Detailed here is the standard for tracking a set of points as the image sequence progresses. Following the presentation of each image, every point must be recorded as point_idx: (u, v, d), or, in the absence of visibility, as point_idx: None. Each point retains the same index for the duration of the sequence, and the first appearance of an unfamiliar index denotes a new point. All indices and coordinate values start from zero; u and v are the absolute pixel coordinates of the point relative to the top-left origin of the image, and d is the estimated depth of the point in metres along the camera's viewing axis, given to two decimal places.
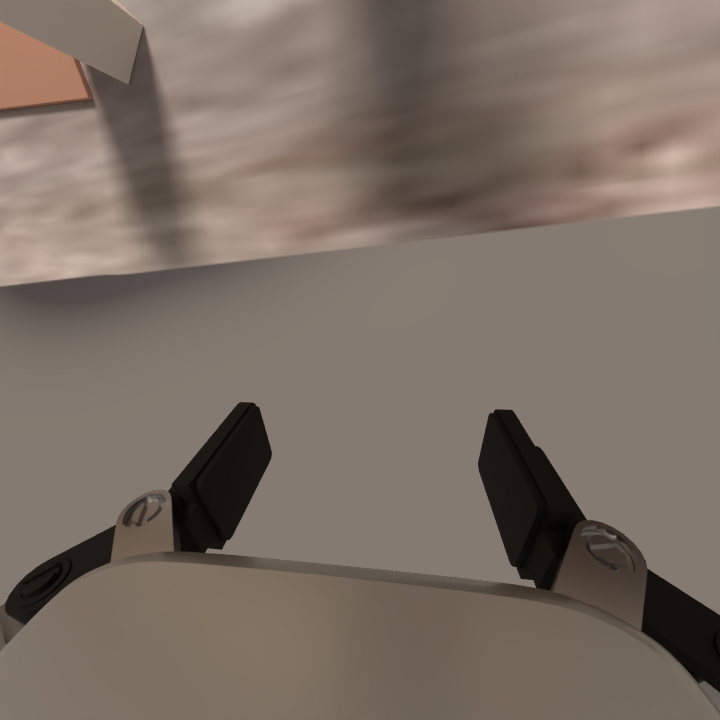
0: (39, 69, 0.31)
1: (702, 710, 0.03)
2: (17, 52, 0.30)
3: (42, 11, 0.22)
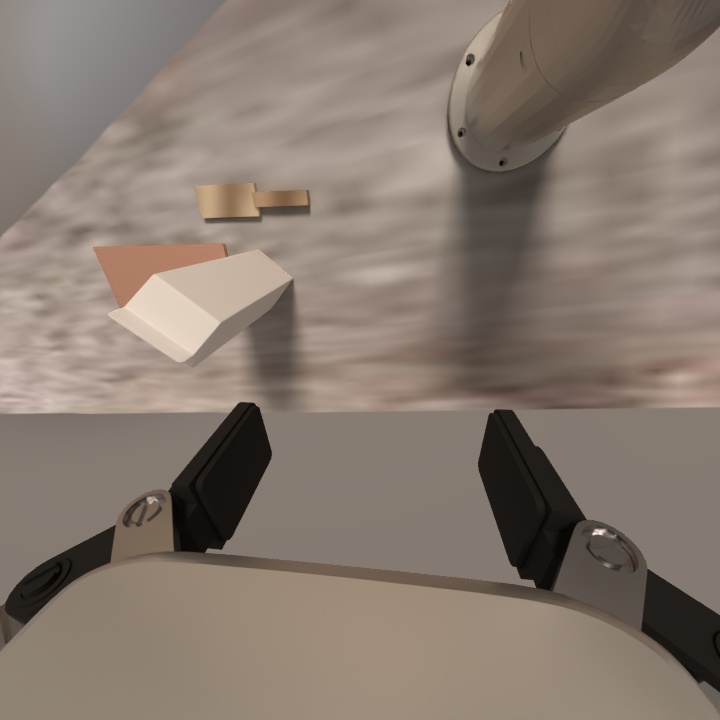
0: None
1: (702, 710, 0.03)
2: None
3: (252, 317, 0.32)
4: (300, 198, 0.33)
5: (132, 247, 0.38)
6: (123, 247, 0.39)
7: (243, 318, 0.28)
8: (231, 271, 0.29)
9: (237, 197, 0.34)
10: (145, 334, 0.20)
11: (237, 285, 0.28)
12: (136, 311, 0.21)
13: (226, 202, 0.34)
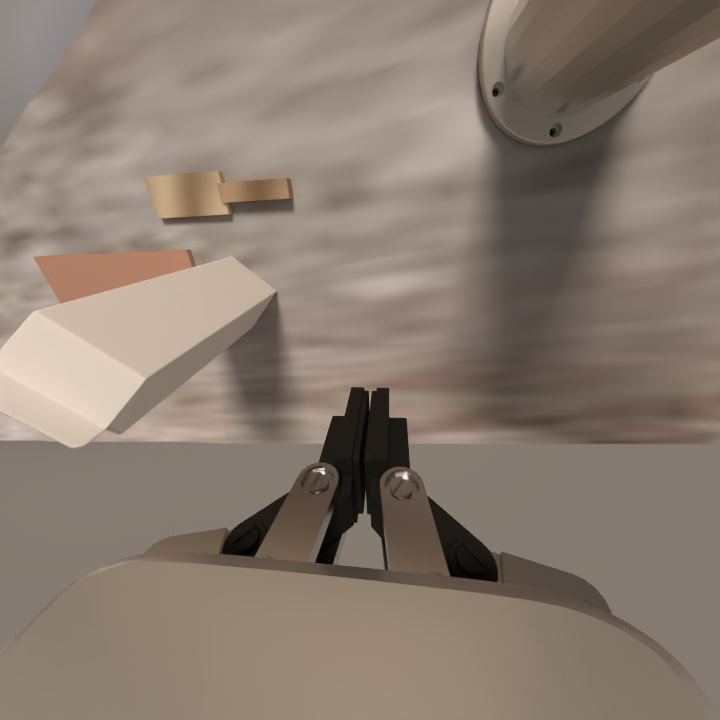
0: None
1: (702, 710, 0.03)
2: None
3: (219, 347, 0.25)
4: (279, 189, 0.25)
5: (79, 256, 0.31)
6: (69, 256, 0.31)
7: (200, 355, 0.21)
8: (183, 291, 0.21)
9: (199, 190, 0.26)
10: (19, 407, 0.13)
11: (188, 311, 0.20)
12: (8, 369, 0.13)
13: (186, 197, 0.27)
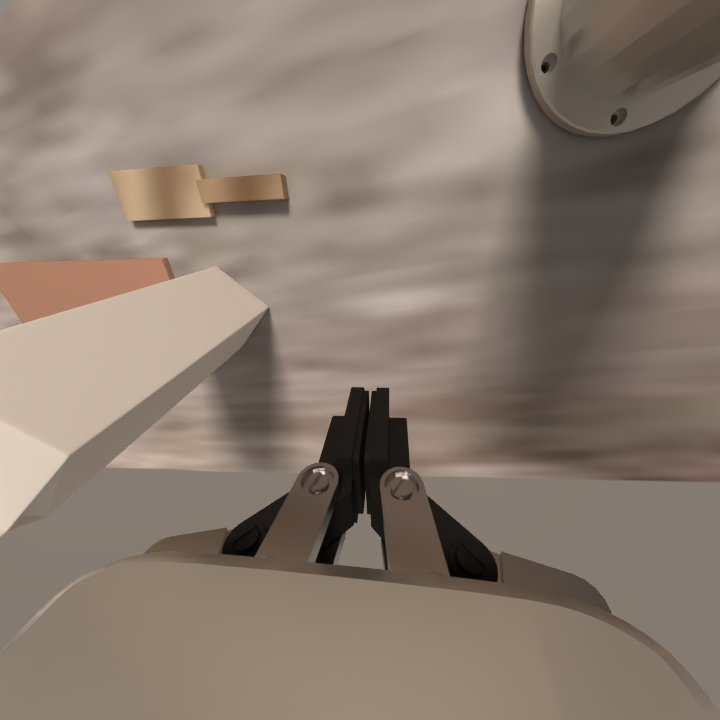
0: None
1: (702, 710, 0.03)
2: None
3: (196, 379, 0.20)
4: (271, 188, 0.21)
5: (36, 264, 0.26)
6: (24, 264, 0.27)
7: (167, 396, 0.16)
8: (146, 315, 0.17)
9: (175, 188, 0.22)
10: None
11: (150, 343, 0.15)
12: None
13: (160, 196, 0.22)
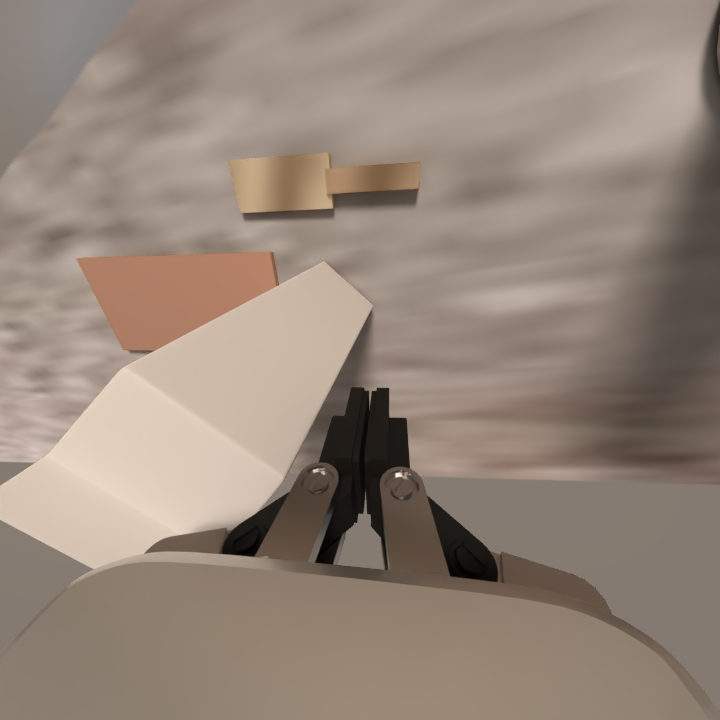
0: None
1: (702, 710, 0.03)
2: (219, 313, 0.27)
3: None
4: (407, 177, 0.20)
5: (134, 258, 0.26)
6: (120, 258, 0.26)
7: None
8: (293, 314, 0.15)
9: (299, 178, 0.21)
10: (94, 537, 0.07)
11: (305, 345, 0.14)
12: (79, 464, 0.08)
13: (280, 186, 0.21)
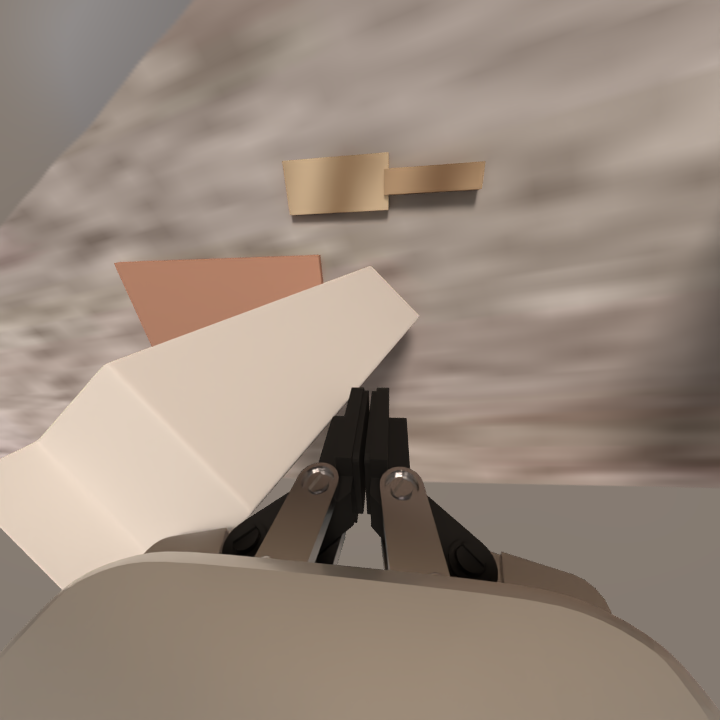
0: None
1: (702, 710, 0.03)
2: None
3: None
4: (470, 177, 0.19)
5: (175, 262, 0.25)
6: (160, 263, 0.25)
7: None
8: (318, 319, 0.14)
9: (355, 178, 0.20)
10: (55, 535, 0.07)
11: (322, 355, 0.13)
12: (61, 455, 0.08)
13: (335, 187, 0.21)
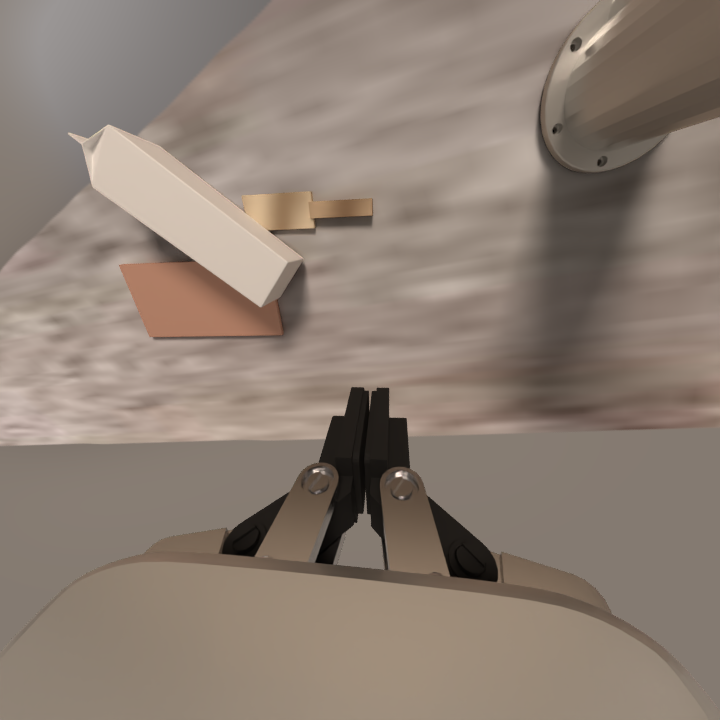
0: (244, 316, 0.37)
1: (702, 710, 0.03)
2: (228, 305, 0.36)
3: (192, 235, 0.27)
4: (364, 208, 0.29)
5: (164, 264, 0.34)
6: (154, 264, 0.34)
7: (163, 196, 0.26)
8: (218, 196, 0.29)
9: (291, 207, 0.30)
10: None
11: (194, 182, 0.27)
12: None
13: (277, 213, 0.31)
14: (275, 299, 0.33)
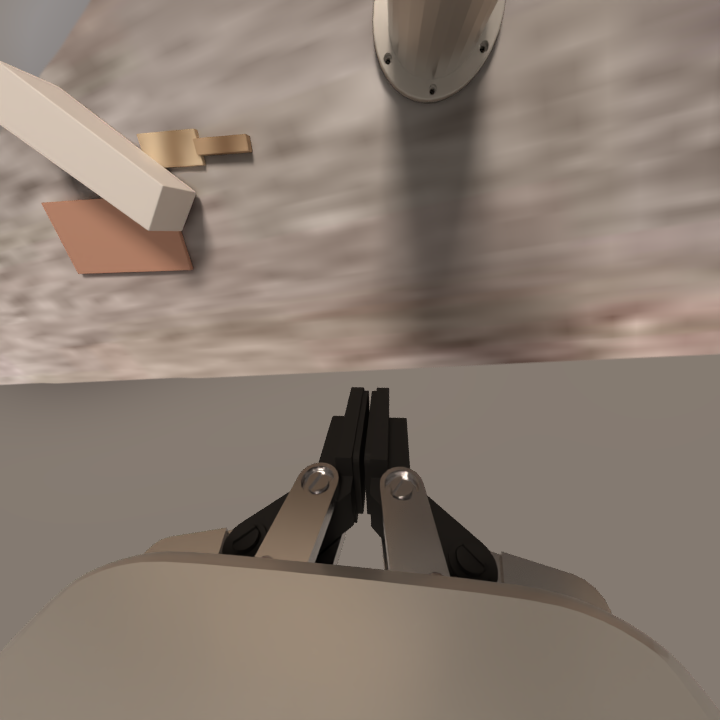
0: (155, 251, 0.41)
1: (702, 710, 0.03)
2: (140, 240, 0.40)
3: (79, 162, 0.31)
4: (240, 143, 0.33)
5: (79, 201, 0.38)
6: (70, 201, 0.39)
7: (50, 125, 0.30)
8: (109, 131, 0.33)
9: (180, 145, 0.34)
10: None
11: (81, 115, 0.31)
12: None
13: (169, 150, 0.34)
14: (173, 230, 0.37)
